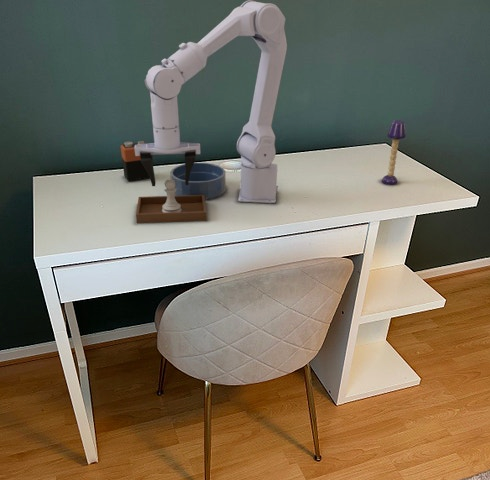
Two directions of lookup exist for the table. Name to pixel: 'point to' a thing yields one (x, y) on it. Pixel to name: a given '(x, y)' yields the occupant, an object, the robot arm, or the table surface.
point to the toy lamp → (394, 149)
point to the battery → (132, 162)
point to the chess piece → (170, 198)
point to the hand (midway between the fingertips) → (170, 184)
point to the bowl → (200, 180)
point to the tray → (152, 212)
